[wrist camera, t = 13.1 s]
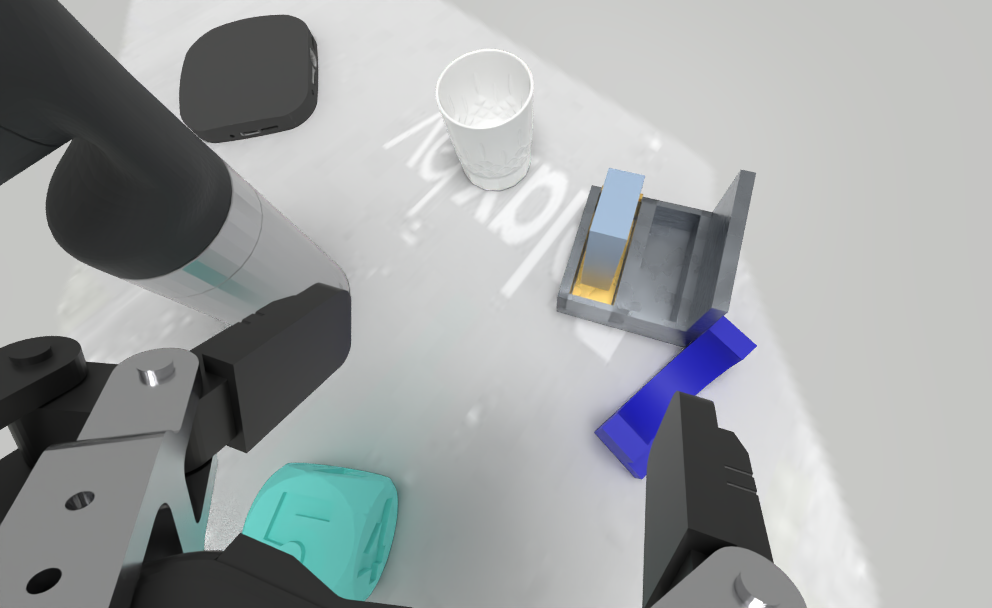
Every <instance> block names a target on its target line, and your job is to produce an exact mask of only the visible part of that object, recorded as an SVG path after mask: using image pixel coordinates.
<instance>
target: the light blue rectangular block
mask: <svg viewBox="0 0 992 608" xmlns="http://www.w3.org/2000/svg"><path fill="white" fill-rule="evenodd" d="M644 178H645V176H644V175H640V174H635V173H630V172H626V171H621V170H617V169H612V168H609V170H608V173H607V176H606V179H605V183H604V186H603V189H602V192H601V196H600V199H599V202H598V205H597V209H596V212H595V215H594V218H593V222H592V225H591V228H590V232H589V238H588V243H587V249H586V254H585V260H584V265H583V271H582V276H581V281H580V283H581V284H584V285H588V286H592V287H595V288H599V289H603V290H606V291H609V289H610V286H611V283H612V281H613V278H614V275H615V272H616V269H617V267H618V264H619V261H620V258H621V256H622V253H623V250H624V247H625V245H626V242H627V239H628V235H629V232H630V228H631V225H632V221H633V218H634V214H635V210H636V207H637V203H638V200H639V196H640V193H641V189H642V186H643V182H644Z"/></svg>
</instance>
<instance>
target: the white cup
mask: <svg viewBox="0 0 992 608" xmlns="http://www.w3.org/2000/svg"><path fill="white" fill-rule="evenodd" d="M533 91H534V82H533V77H532V73H531V71H530V69H529V68H528V66H527V65H526V64H525V62H524V61H523V60H521V59H520V58H519V57H517V56H516V55H514V54H512V53H510V52H507V51H504V50H499V49H480V50H475V51H472V52H469V53H466V54H464V55H462V56H460V57H458V58H457V59H455V60H454V61H452V62H451V63H450V64H449V65H448V66H447V67H446V68H445V69H444V70H443V72H442V73H441V75H440V77H439V79H438V81H437V85H436V90H435V97H436V102H437V105H438V108H439V110H440V113H441V115H442V118H443V121H444V123H445V126H446V129H447V131H448V134H449V137H450V139H451V142H452V144H453V146H454V149H455V151H456V154H457V156H458V158H459V160H460V162H461V164H462V167H463V170H464V172H465V174H466V175H467V177H468V178H469V179H470V181H471V182H472V183H473V184H475V185H476V186H478V187H480V188H482V189H484V190H496V191H501V190H504V189H506V188H509V187H512V186H515V185H516V184H517V183H518V182H519V181H520V180H521V179H522V178H524V177H525V176H526V173H527V171H528V168H529V166H530V163H531V145H532V131H533Z"/></svg>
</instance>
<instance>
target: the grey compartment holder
mask: <svg viewBox="0 0 992 608" xmlns="http://www.w3.org/2000/svg"><path fill="white" fill-rule="evenodd" d="M755 175H756V173H754V172H749V171H745V170H740V172H739V173H738V175H737V176H736V178H735V179H734V181H733V182H732V184H731V185H730V187H729V188H728V190H727V191H726V193H725V194H724V196H723V197H722V199H721V200H720V202H719V203H718V205H717V206H716V208H715V209H714V211H713V212H708V211H704V210H699V209H695V208H691V207H686V206H682V205H677V204H673V203H668V202H664V201H659V200H655V199H650V198H646V197H643V194H640V196H639V200H638V203H637V207H636V210H635V214H634V218H633V221H632V225H631V228H630V232H629V235H628V239H627V242H626V245H625V247H624V250H623V253H622V256H621V258H620V261H619V264H618V267H617V269H616V272H615V275H614V278H613V281H612V283H611V286H610V289H609V291H606V290H603V289H599V288H595V287H592V286H588V285H584V284H581V283H580V281H581V276H582V271H583V265H584V260H585V254H586V249H587V243H588V238H589V232H590V228H591V225H592V222H593V218H594V215H595V212H596V209H597V205H598V202H599V199H600V196H601V192H602V189H603V186H604V185H603V186H602V187H597V186H593V185H592V187H591V190H590V193H589V197H588V200H587V203H586V206H585V209H584V213H583V216H582V219H581V222H580V226H579V229H578V232H577V235H576V239H575V242H574V245H573V248H572V251H571V255H570V258H569V261H568V264H567V268H566V271H565V274H564V277H563V281H562V284H561V287H560V290H559V293H558V298H557V311H558V312H561V313H565V314H568V315H572V316H575V317H579V318H583V319H586V320H590V321H593V322H597V323H600V324H604V325H607V326H611V327H614V328H618V329H622V330H625V331H629V332H632V333H636V334H639V335H643V336H646V337H650V338H653V339H657V340H661V341H664V342H668V343H671V344H675V345H678V346H682V347H685V346H687V345H688V344H689V343H690V342H692V341H693V340H694V339H695V338H697V337H698V336H699V335H700V334H701V333H703V332H704V331H705V330H706V329H708V328H709V327H710V326H711V325H713V324H714V323H715V322H716V321H717V320H719V319H720V318H721V317H722V316H724V315H725V314H726V313H727V312H728V309H729V304H730V299H731V294H732V289H733V284H734V279H735V274H736V270H737V265H738V260H739V255H740V250H741V245H742V240H743V235H744V230H745V225H746V219H747V215H748V210H749V204H750V200H751V195H752V190H753V185H754V180H755Z"/></svg>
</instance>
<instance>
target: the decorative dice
mask: <svg viewBox="0 0 992 608" xmlns="http://www.w3.org/2000/svg"><path fill="white" fill-rule="evenodd" d="M397 512H398V496H397V491H396V488H395V486H394V484H393V483H392V481H391V479H390V478H388V477H386V476H383V475H379V474H375V473H371V472H366V471H361V470H355V469H349V468H343V467H336V466H329V465H320V464H309V463H288V464H286V465H285V466H283V467H282V468H281V469H279V470H278V471H276V472H275V473H274V474H273V475H272V476H271V477H270V478H269V479H268V480H267V481H266V483H265V484H264V485H263V487H262V488H261V490H260V491H259V493H258V494H257V496H256V498H255V500H254V502H253V504H252V506H251V508H250V510H249V513H248V515H247V518H246V521H245V524H244V527H243V531H242V534H245V535H247V536H249V537H251V538H254V539H256V540H258V541H261V542H263V543H265V544H267V545H270V546H272V547H274V548H277V549H279V550H281V551H284V552H286V553H288V554H290V555H293V556H294V557H295V558H296V559H297V560H299V561H300V562H301V563H302V564H303V565H304V566H305V567H306V568H308V569H309V570H310V571H311V572H312V573H313V574H314V575H315V576H316V577H318V578H319V579H320V580H321V581H322V582H323V583H324V584H325V585H326V586H328V587H329V588H330V589H331V590H332V591H333V592H334V593H335V594H337V595H338V596H340V597H342V598H345V599H350V600H358V601H365V600H366V599H367V598H368V597H369V596H370V594H371V593H372V591H373V590H374V588H375V586H376V585H377V583H378V581H379V579H380V576H381V574H382V572H383V569H384V567H385V564H386V561H387V558H388V555H389V552H390V548H391V545H392V541H393V537H394V532H395V527H396V521H397Z"/></svg>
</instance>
